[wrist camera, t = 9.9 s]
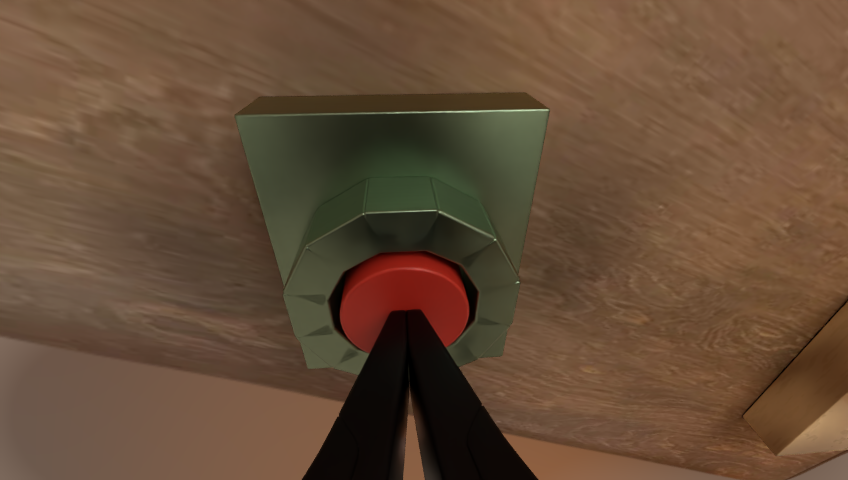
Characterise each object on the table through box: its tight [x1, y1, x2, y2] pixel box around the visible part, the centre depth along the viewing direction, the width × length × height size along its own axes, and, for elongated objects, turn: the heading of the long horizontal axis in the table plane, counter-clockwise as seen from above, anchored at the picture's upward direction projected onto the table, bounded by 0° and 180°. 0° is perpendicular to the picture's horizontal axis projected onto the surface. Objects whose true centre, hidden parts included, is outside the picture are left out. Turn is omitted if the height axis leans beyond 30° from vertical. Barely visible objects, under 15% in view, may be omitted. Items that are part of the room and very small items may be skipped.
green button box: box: [235, 93, 550, 375], centre depth 12 cm, size 10×8×4 cm
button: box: [340, 251, 469, 353], centre depth 11 cm, size 4×4×2 cm
